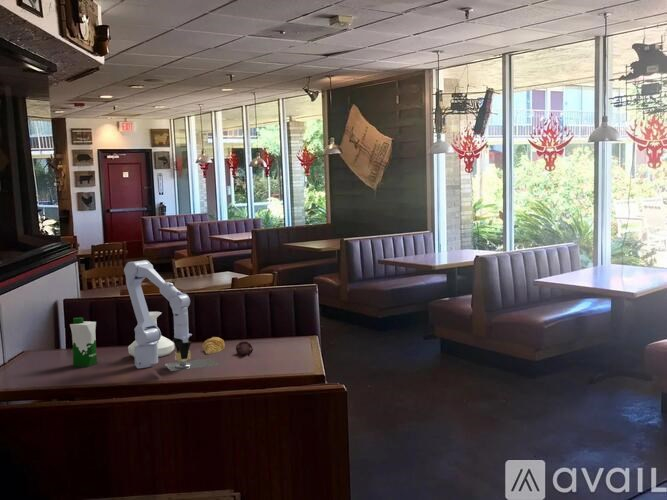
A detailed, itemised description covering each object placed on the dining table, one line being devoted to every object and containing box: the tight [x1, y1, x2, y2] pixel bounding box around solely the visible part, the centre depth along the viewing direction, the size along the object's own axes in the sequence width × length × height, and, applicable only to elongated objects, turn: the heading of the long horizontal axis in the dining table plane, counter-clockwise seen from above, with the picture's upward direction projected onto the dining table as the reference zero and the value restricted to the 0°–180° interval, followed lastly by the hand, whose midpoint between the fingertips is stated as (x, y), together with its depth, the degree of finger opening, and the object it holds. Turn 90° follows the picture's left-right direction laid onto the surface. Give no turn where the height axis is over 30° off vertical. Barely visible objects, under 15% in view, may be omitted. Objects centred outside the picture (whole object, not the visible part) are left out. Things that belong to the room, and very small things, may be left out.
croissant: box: [201, 336, 226, 355], centre depth 308 cm, size 21×10×8 cm, turn 176°
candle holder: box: [127, 311, 176, 358], centre depth 302 cm, size 20×20×19 cm
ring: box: [174, 350, 192, 362], centre depth 277 cm, size 6×6×3 cm
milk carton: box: [69, 316, 98, 368], centre depth 289 cm, size 9×9×20 cm
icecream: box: [235, 340, 254, 357], centre depth 297 cm, size 7×7×15 cm
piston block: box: [164, 357, 221, 372], centre depth 280 cm, size 20×14×5 cm
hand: (182, 357), depth 277 cm, fingers closed on ring, 6 cm apart
